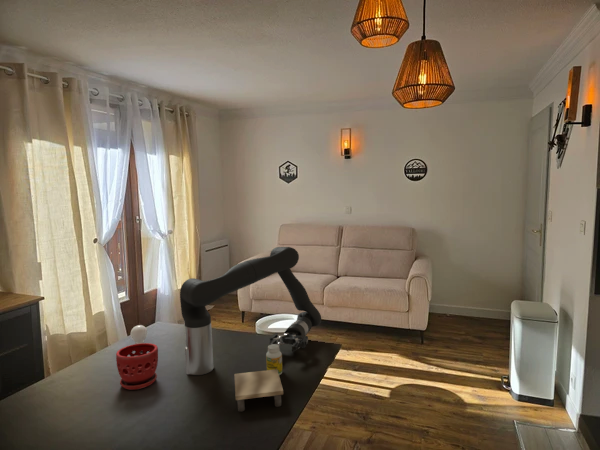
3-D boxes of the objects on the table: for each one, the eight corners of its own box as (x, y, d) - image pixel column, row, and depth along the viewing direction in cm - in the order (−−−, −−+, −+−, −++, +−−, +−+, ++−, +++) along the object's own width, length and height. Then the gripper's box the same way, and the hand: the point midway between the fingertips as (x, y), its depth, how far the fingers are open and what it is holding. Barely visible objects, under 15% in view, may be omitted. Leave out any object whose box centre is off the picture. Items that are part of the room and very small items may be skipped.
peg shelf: (236, 413, 116) (235, 396, 116) (235, 389, 130) (234, 373, 129) (283, 407, 119) (283, 390, 118) (277, 384, 133) (277, 369, 132)
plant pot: (163, 385, 134) (161, 351, 132) (121, 397, 127) (118, 361, 126) (155, 370, 145) (153, 338, 144) (116, 380, 138) (113, 347, 137)
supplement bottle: (284, 370, 142) (283, 344, 141) (279, 377, 137) (278, 350, 136) (270, 368, 144) (269, 342, 143) (264, 375, 139) (263, 348, 138)
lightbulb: (138, 356, 157) (136, 329, 156) (128, 353, 160) (126, 326, 159) (152, 350, 162) (150, 324, 161) (142, 347, 166) (140, 321, 165)
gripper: (280, 321, 164) (264, 336, 149) (313, 324, 160) (300, 340, 144) (281, 339, 165) (264, 355, 150) (313, 342, 160) (300, 359, 145)
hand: (282, 347), depth 147 cm, fingers open, 8 cm apart
